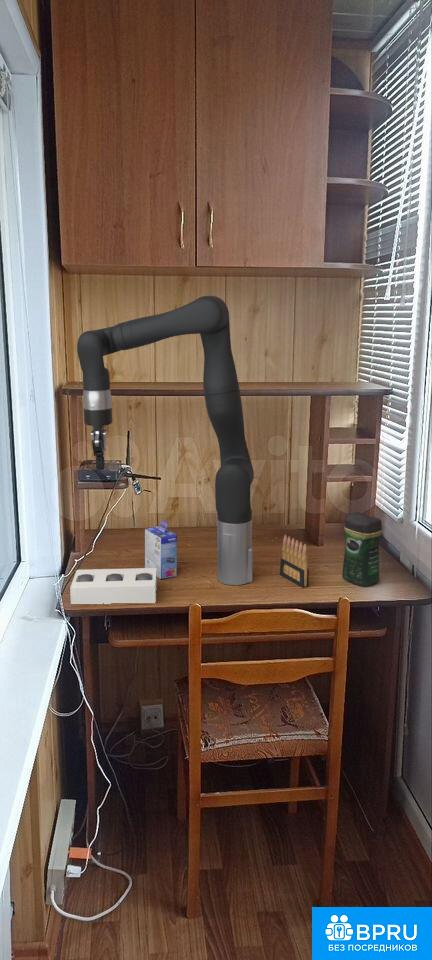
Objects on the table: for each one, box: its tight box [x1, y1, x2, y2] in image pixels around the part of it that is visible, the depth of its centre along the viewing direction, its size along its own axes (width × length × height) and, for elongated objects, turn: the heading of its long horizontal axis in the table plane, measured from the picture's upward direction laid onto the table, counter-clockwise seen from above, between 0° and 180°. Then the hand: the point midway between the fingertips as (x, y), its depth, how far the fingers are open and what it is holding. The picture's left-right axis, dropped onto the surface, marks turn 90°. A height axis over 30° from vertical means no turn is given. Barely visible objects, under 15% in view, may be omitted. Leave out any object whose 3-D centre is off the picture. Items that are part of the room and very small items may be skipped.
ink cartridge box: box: [144, 520, 178, 580], centre depth 195 cm, size 10×6×14 cm, turn 33°
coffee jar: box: [342, 511, 383, 587], centre depth 189 cm, size 10×8×19 cm
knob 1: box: [78, 574, 93, 582], centre depth 181 cm, size 4×4×4 cm
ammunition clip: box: [279, 533, 310, 589], centre depth 190 cm, size 11×2×12 cm, turn 30°
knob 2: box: [137, 573, 151, 580], centre depth 182 cm, size 4×4×4 cm
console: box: [69, 567, 158, 605], centre depth 181 cm, size 21×12×5 cm, turn 93°
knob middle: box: [108, 574, 122, 581], centre depth 181 cm, size 4×4×4 cm
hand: (100, 469), depth 193 cm, fingers closed
